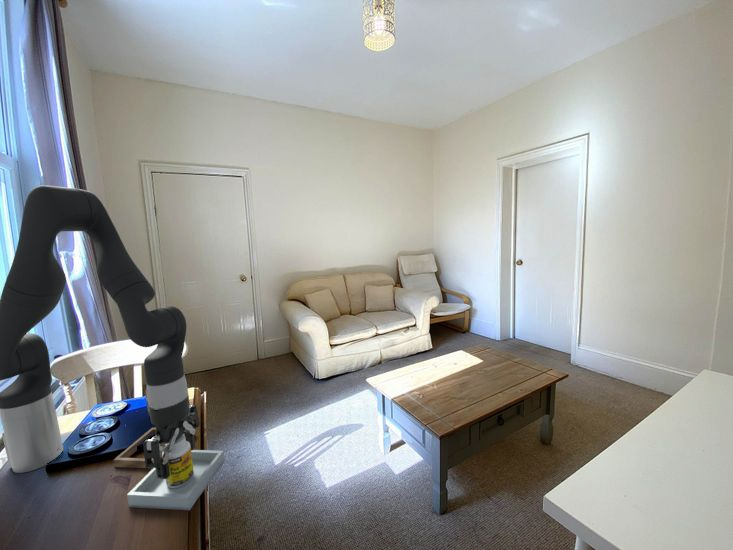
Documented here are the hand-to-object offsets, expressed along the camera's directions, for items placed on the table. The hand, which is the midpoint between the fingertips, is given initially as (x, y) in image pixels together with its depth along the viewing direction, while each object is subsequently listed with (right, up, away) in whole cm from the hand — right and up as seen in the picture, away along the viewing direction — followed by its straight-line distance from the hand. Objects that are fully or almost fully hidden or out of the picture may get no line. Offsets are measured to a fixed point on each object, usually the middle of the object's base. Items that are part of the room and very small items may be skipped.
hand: (178, 462), depth 71 cm
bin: (0, -5, +1) cm, 5 cm away
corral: (-13, -4, +12) cm, 18 cm away
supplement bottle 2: (0, -5, +1) cm, 5 cm away
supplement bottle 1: (-23, -2, +29) cm, 37 cm away
